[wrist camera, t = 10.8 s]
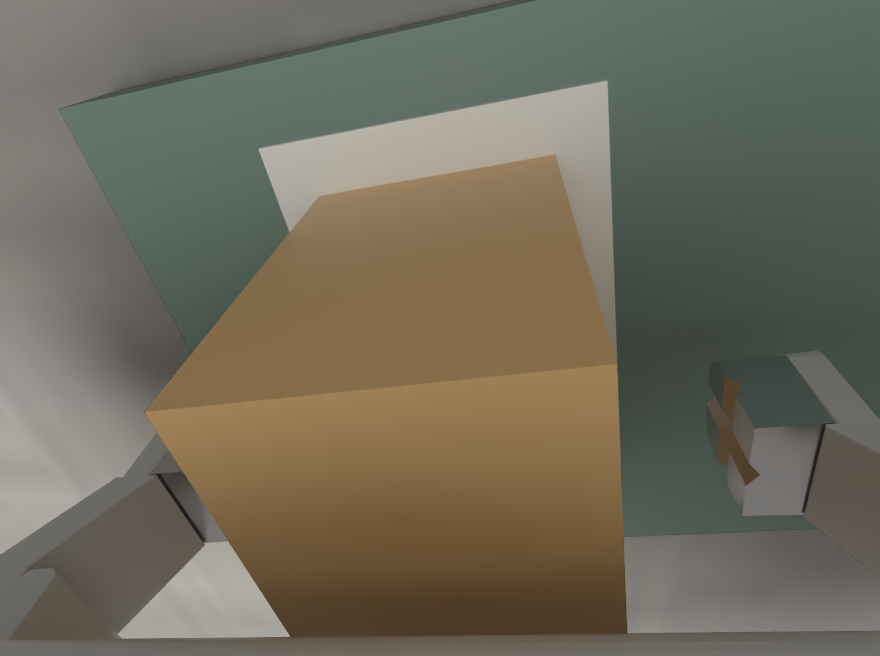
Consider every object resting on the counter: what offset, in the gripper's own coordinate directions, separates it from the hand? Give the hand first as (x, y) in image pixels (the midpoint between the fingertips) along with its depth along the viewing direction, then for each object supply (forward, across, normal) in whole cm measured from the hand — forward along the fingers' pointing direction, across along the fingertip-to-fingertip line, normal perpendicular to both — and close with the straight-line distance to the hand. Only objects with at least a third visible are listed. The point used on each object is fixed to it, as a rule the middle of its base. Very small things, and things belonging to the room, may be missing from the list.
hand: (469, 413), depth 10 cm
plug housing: (+2, 0, 0) cm, 2 cm away
